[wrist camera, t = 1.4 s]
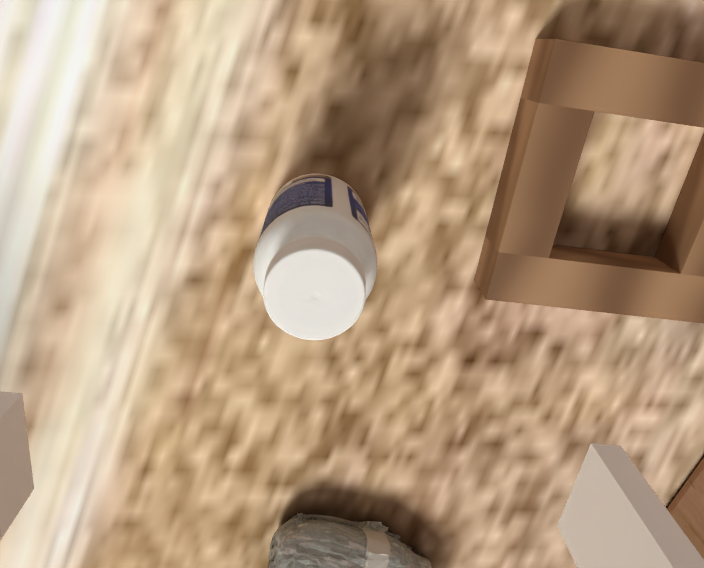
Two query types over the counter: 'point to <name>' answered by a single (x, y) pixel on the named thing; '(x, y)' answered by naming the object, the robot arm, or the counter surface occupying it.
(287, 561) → the decorative stone
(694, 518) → the wooden block
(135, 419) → the counter surface
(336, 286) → the pill bottle
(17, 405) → the robot arm
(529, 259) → the brown square frame
